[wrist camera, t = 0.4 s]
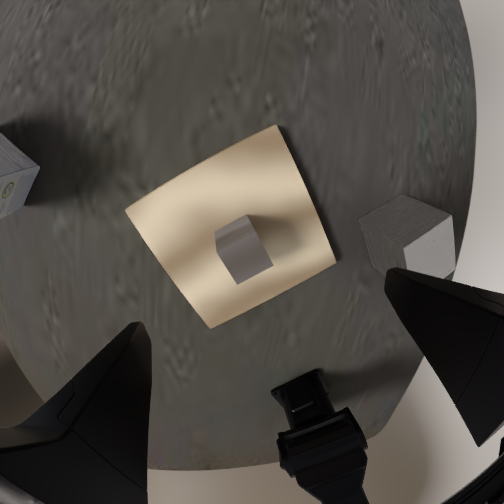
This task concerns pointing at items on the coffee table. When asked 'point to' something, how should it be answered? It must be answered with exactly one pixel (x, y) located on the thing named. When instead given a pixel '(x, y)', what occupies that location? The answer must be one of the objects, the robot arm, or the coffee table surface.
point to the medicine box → (14, 176)
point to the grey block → (409, 237)
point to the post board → (222, 203)
